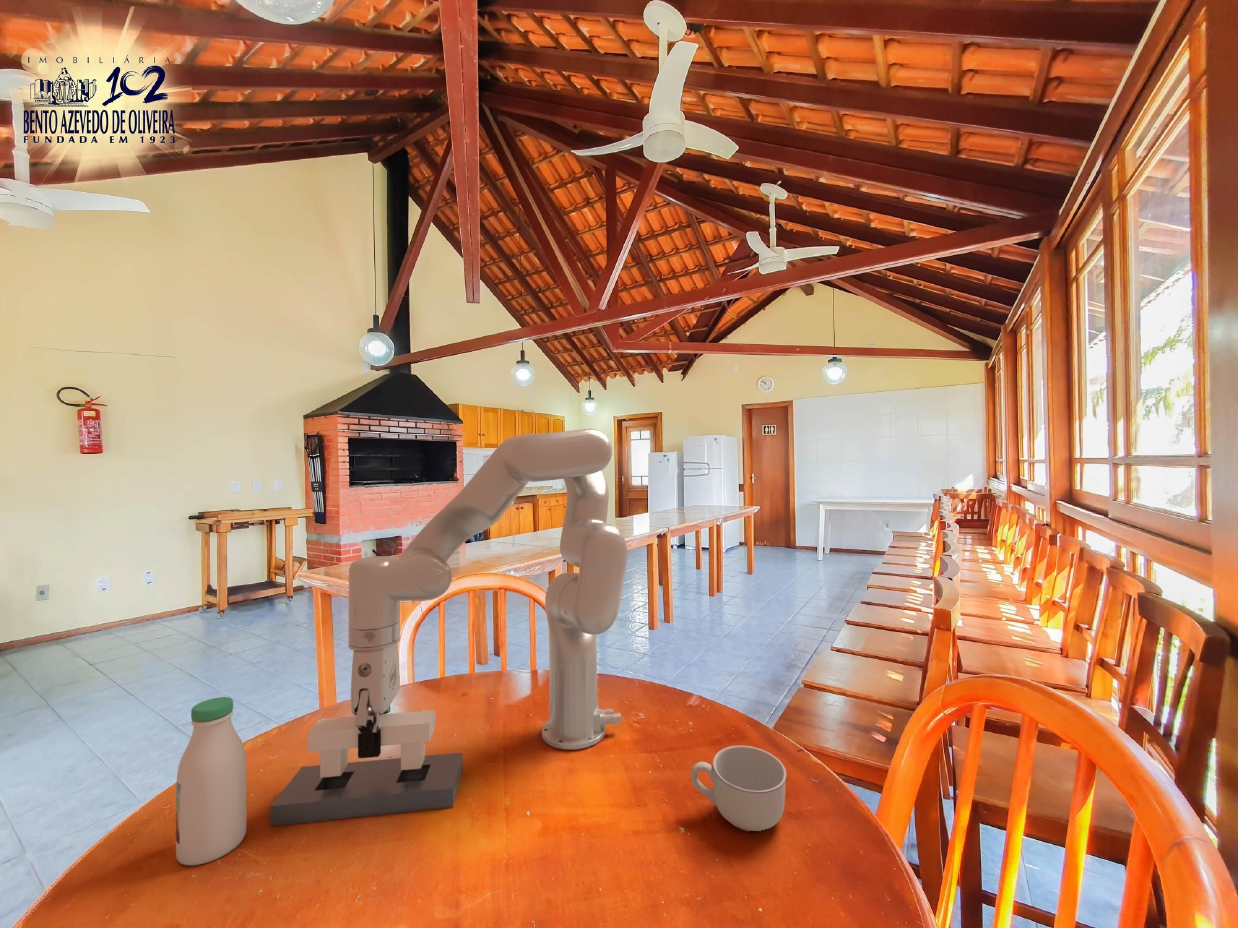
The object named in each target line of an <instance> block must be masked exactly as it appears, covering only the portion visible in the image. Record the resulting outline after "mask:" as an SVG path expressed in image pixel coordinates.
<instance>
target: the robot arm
mask: <svg viewBox="0 0 1238 928" xmlns="http://www.w3.org/2000/svg"><path fill="white" fill-rule="evenodd" d="M609 439H610V438H608V437H607V436H606V434H604V433H603V432H602V431H600V430H598V429H595V428H584V429H577V430H576V429H575V430H565V431H557V432H545V433H543V432H542V433H527V434H522V435H521V434H520V435H516V436H510V437H509V438H506V439H505V440H504V441H502V442H501V443H500V444H499V445H498V446H497V447H496V449H495V450H494V451H493V452H492V453H491V454H490V456H489V457H488V458H487V459H486V460H485V462H484V463H483V464H482V465H481V466H480V468H479V469H478V470H477V471H476V472H475V474H474V475H473V476H472V478H471V479H470V480H469V481H467V483H466V484H465V485H464V487H463V488H462V489H461V490H460V491H459V492H458V493H457V494H456V495H455V496H454V498H452V499H451V500H450V501H448V503H447V504H446V505H445V506H444V507H443V508H442V509H441V510H440V511H439V512H437V514H436V515H435V516H433V517H432V519H430V520H429V522H427V523H426V524H425V525H424V527H422V529H421V530H419V532H418V534H417V535H416V536H415V537H414V538H413V540H412V541H411V542H410V543H409V544H408V545H407V547H406V548H405V549H404V550H403V552H402V553H401V554H400V556H399V557H398V559H397V558H395V557H393V556H387V555H383V556H382V555H379V556H378V555H376V556H375V555H373V556H368V557H367V556H366V557H362V558H358V559H356V560H353V561H352V562H351V563H350V564H349V565H350V566H349V568H348V649H349V650H351V651H353V654H352V664H351V677H350V678H351V682H350V709H351V713H352V715H353V716H356V721H355V726H356V727H357V728H358V731H357V733H358V748H357V758H358V759H368V758H379V757H380V756H381V753H382V749H381V748H382V746H381V729H380V730H378V727H379V714H390V713H391V705H392V703H393V702H394V700H395V698H396V697H397V695H398V693H399V691H400V688H401V684H400V683H401V682H400V681H401V676H400V658H399V646H398V644H399V642H400V641H401V602H402V601H404V602H405V601H407V602H410V601H411V602H422V601H423V602H425V601H431V600H435V599H438V598H440V597H441V596H443V595H444V594H445V593H446V592H447V591H448V590H449V588H450V587H451V584H452V580H453V574H452V569H451V567H450V565H449V564H448V563H447V561H448V560H449V559H451V557H452V556H453V554H455V552H456V551H457V550H458V549H459V548H460V546H462V545H463V544H464V543H465V542H467V541H468V540H469V539H470V538H472V537H473V536H475V535H477V534H479V533H481V532H484V531H485V530H488V529H489V528H491V527H492V526H494V525H495V524H497V522H498V521H499V520H500V519H501V518H502V516H503V515H504V514H505V512H506V511H507V510H508V509H509V507H510V506H511V505H512V504H513V502H514V501H515V500H516V498H518V496H519V495H520V493H521V492H522V491H523V490H524V488H525V487H527V485H528V483H529V482H530V483H531V482H535V483H536V482H549V481H556V480H563V481H564V484H565V488H566V503H565V511H564V516H563V517H564V518H563V524H562V529H561V530H562V531H561V533H560V534H561V536H560V541H559V553H560V555H561V558H562V559H563V560H564V561H565V562H566V563H568V564H570V565H572V566H574V567H576V568H579V569H578V573H577V572H571V571H570V572H569V571H568V572H563V573H560V574H559V575H557V576H556V577H554V578H553V579H552V580H551V582H550V583H549V584H548V587H547V588H546V593H545V599H544V603H545V606H544V607H545V612H546V620H547V627H548V641H549V642H548V643H549V644H548V645H549V649H548V651H549V652H548V653H549V656H548V657H549V659H548V660H549V662H548V663H549V664H548V666H549V667H548V668H549V669H548V670H549V673H548V674H549V681H548V682H549V683H548V684H549V692H548V693H549V719H548V720H547V721H545V723H544V724H543V726H542V728H541V738H542V739H543V742H545V743H546V744H548V745H549V746H550V747H552V748H556V749H560V750H568V751H570V750H571V751H572V750H581V749H585V748H589V747H591V746H595V745H596V744H598V743H599V742H600V741H602V739H603V738H604V737H605V735H606V725H610V724H612V725H616V724H617V725H618V724H622V714H621V712H614V709H613V708H607V709H602V708H600V706H599V703H598V639H597V637H598V635H601V634H603V633H605V632H607V631H608V630H609V629H610V628H611V627H612V626H613V625H614V623H615V622H616V619H617V617H618V614H619V611H620V607H621V604H622V603H621V602H622V595H623V589H624V583H625V575H626V568H627V561H628V548H627V546H628V545H627V542H626V539H625V537H624V534H623V533H622V532H621V531H620V529H618V528H617V527H616V526H614V525H612V524H609V523H607V520H608V519H607V518H608V508H609V497H610V496H609V494H610V493H609V486H608V481H607V479H606V477H605V474H604V472H603V470H604V469H606V467H607V466H608V465H609V463H610V461H611V459H612V455H613V447H612V444H611V441H610V440H609ZM369 709H370V710H369ZM367 716H374V717H373V722H372V720H368V718H367Z"/></svg>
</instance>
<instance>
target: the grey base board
mask: <svg viewBox="0 0 1238 928" xmlns="http://www.w3.org/2000/svg"><path fill="white" fill-rule="evenodd" d="M463 759H464V752H454V753H443V754H431V755H430V754H429V755H425V759H424V761H423V764H422V766H421V769H410V770H401V757H397V758H384V759H377V760H376V759H375V760H363V761H354V762H353V761H352V762H348V765H347V767H346V768H345V770H344V771H343V773H342V775H341V776H333V777H322V778H320V764H319V765H318V764H317V765H308V766H307V765H306V766H301V767H300V768H299V769H298V771H297V772H296V774H294V776H293V777H292V778H291V780H290V781H289V782H288V783H287V785H286V786H285V787H284V789H282V791H281V792H280V793H279V795H278V796H277V797H276V799H275V800H274V801H273V803H272V804H271V805H270V816H269V817H270V819H269V820H270V826H269V827H278V826H286V825H287V826H289V825H298V824H307V823H315V822H316V823H317V822H318V823H319V822H325V821H336V820H337V821H338V820H345V819H353V818H354V819H355V818H364V817H365V818H366V817H374V816H383V815H395V814H402V813H410V812H421V811H423V812H424V811H431V810H440V809H441V810H442V809H451V808H454V806H455V801H456V797H457V793H458V790H459V786H460V782H461V778H462V775H463V770H464V766H463V765H464V760H463Z"/></svg>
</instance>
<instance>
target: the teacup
mask: <svg viewBox="0 0 1238 928" xmlns="http://www.w3.org/2000/svg"><path fill="white" fill-rule="evenodd" d="M700 772H706V773H707V774H708V776H709V777H710V780H711V782H712V784H713V785H712V786H713V787H712V788H713V789H711V788H709V787H707V786H706V785H704V784H703V783H702V782H701V781H700V780H699V778H698V773H700ZM690 779H691V782H692V786H693V787H694V788H695V789H696V790H697V791H698V792H700V794H702V795H704V796H706V797H707V798H708V799H709V801H710V803H712V804H715V806H716V807H717V810H718V811H719V813H720V814H721V816H723V818H724V819H726V820H727V821H728V822H729V823H730V824H732V825H733V826H734V827H735V828H737V827H738V828H737V829H739V828H740V829H739V830H742V831H745V830H746V831H745V832H749V831H759V832H762V831H761V830H763V831H765V829H766V830H767V829H771V828H772V827H774V826H775V825H777V823H779V822H780V820H781V818H782V816H783V813H784V809H785V802H786V780H787V770H786V768H785V765H784V764H783V763H782V762H781V760H780V759H779V758H778V757H776V756H775V755H773V754H772V753H771V752H768V751H766V750H764V749H762V748H758V747H754V746H750V745H731V746H727V747H725V748H722V749H720V750H718V752H717V753H716V754H715V756H714V757H713V759H712V765H711V764H710V763H708V762H705V761H699V762H696V763H695V764H694V765H693V766H692V767H691V771H690Z"/></svg>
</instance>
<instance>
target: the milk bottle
mask: <svg viewBox="0 0 1238 928" xmlns="http://www.w3.org/2000/svg"><path fill="white" fill-rule="evenodd" d="M190 711H191V712H190V713H191V714H190V718H191V722H190V724H191V725H192V726H193V727H192V728H193V729H192V730H193V731H192V734H191V737H190V739H189V741H188V744H187V746H186V748H185V750H184V752H183V754H182V756H181V758H180V761H179V764H178V767H177V768H178V769H177V773H176V788H175V789H176V790H175V793H176V795H175V858H176V860H177V861H178V863H180V864H182V865H184V866H189V867H190V866H198V865H203V864H207V863H209V862H212V861H215V860H218V859H220V858H222V857H223V856H226V855H228V854H229V853H230V852H232V851H233V850H234V849H236V848H237V847H238V846H239V845H240V844H241V843H242V841H243V840H244V837H245V836H246V834H247V823H248V822H247V820H248V819H247V817H248V816H247V810H248V809H247V806H248V805H247V803H248V802H247V796H248V795H247V793H248V792H247V783H248V782H247V756H246V749H245V745H244V743H243V741H242V739H241V737H240V736H239V734H238V733H237V732H236V730H235V727H234V725H233V723H232V716H233V715H234V700H233V698H231V697H229V696H220V697H213V698H210V699H206V700H203V701H201V702H199V703H197V704H195V705H194V706H193V707H192V708H191V710H190Z"/></svg>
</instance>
